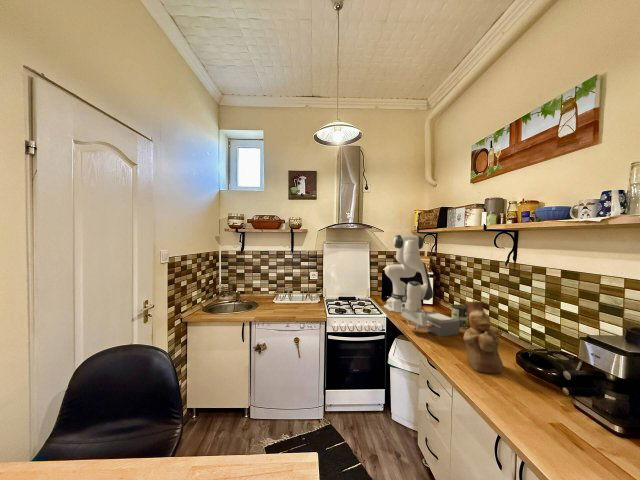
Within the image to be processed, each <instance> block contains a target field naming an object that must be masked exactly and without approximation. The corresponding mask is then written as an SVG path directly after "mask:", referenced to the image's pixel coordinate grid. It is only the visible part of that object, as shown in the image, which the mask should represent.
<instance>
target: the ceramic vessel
mask: <svg viewBox="0 0 640 480" xmlns="http://www.w3.org/2000/svg"><path fill="white" fill-rule="evenodd" d="M464 306H466V310H467V314H468V322H469V325H470V327H469V328H466V330H465V332H464V334H463V341H464V343H465V347H466V352H465V353H466V360H467V362H468V364H469V366H470V367H471V368H472V369H473V370H475V371H476V372H479V373H485V374H501V373H502V372H503V369H504V364H503V361H502V359H501V356H500V354H499V351H498V347H499V345H500V343H501V341H500V338H499V337H498V335H497V333H495V332H494V331H493V330H492V329H490V328H491V325H492V324H491V319H490V316H489V315H488V314H487V312H486V311H485V310H484V306H483V302H482V301H465V302H464Z"/></svg>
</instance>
